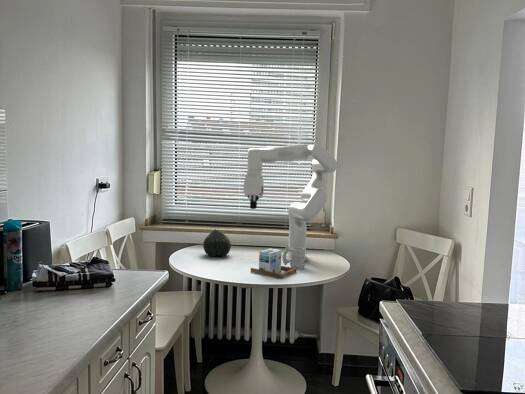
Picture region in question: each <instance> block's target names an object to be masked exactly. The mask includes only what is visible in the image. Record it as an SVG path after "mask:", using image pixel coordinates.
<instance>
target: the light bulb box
mask: <svg viewBox="0 0 525 394" xmlns="http://www.w3.org/2000/svg"><path fill="white" fill-rule="evenodd" d="M258 254H259V255H258V256H259V257H258V269H260V270H265V271H270V272H275V273H280V272H281V271H282V270H281V266H282V255H283V251H282V249H276V248H272V247H270V248H266V249H263V250H260V251H259V253H258ZM281 273H282V272H281Z"/></svg>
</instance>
